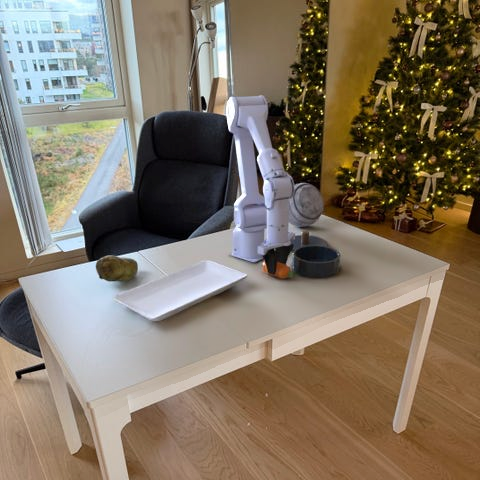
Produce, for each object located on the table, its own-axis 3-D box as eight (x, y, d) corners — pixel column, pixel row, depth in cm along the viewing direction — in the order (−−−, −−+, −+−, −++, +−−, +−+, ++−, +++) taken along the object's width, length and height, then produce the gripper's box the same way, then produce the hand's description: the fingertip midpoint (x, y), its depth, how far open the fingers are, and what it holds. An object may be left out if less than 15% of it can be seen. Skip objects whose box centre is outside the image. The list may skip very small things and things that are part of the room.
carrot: (259, 273, 125) (259, 260, 123) (267, 269, 128) (268, 256, 126) (288, 283, 120) (289, 269, 118) (296, 278, 123) (297, 265, 121)
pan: (287, 274, 125) (287, 259, 123) (298, 257, 135) (299, 243, 133) (334, 280, 121) (336, 265, 119) (341, 262, 132) (343, 248, 129)
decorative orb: (297, 235, 152) (299, 191, 144) (272, 224, 162) (273, 182, 155) (329, 227, 159) (333, 184, 151) (303, 216, 169) (305, 176, 162)
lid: (277, 251, 140) (278, 237, 137) (288, 236, 151) (289, 223, 149) (322, 256, 136) (323, 242, 133) (330, 240, 147) (331, 227, 145)
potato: (148, 278, 124) (145, 251, 120) (106, 292, 117) (101, 264, 113) (133, 269, 129) (129, 243, 125) (92, 282, 122) (86, 255, 118)
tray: (112, 308, 110) (110, 295, 108) (207, 269, 129) (206, 258, 127) (154, 333, 99) (152, 319, 98) (249, 286, 119) (249, 274, 117)
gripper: (273, 234, 110) (272, 284, 117) (305, 219, 119) (302, 266, 126) (251, 228, 114) (251, 276, 121) (283, 214, 123) (282, 260, 130)
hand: (276, 271), depth 124 cm, fingers closed on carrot, 4 cm apart
